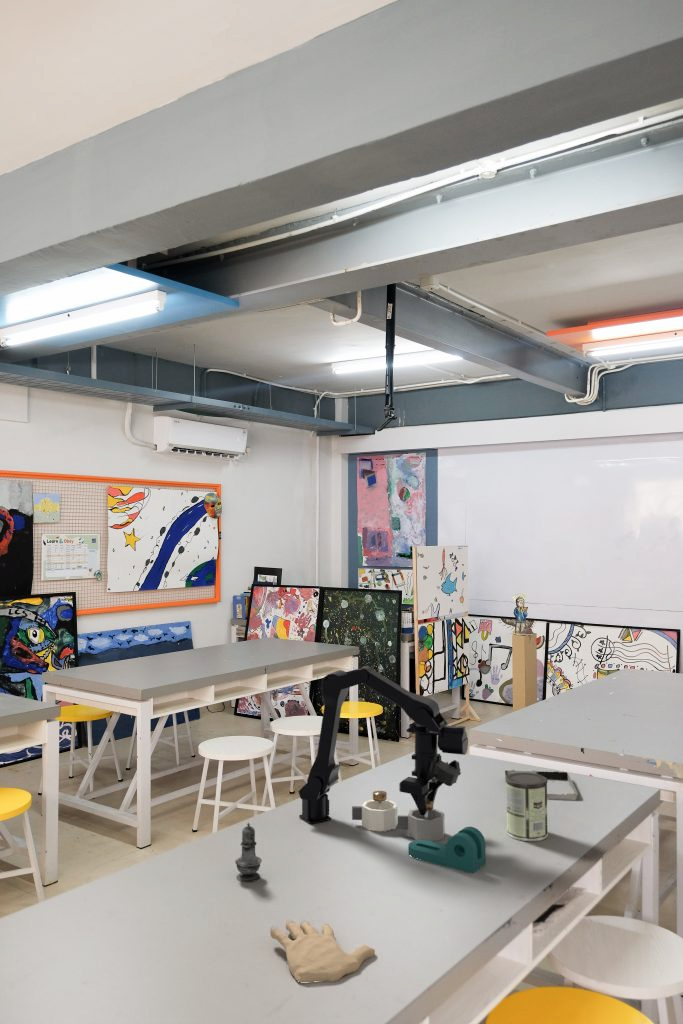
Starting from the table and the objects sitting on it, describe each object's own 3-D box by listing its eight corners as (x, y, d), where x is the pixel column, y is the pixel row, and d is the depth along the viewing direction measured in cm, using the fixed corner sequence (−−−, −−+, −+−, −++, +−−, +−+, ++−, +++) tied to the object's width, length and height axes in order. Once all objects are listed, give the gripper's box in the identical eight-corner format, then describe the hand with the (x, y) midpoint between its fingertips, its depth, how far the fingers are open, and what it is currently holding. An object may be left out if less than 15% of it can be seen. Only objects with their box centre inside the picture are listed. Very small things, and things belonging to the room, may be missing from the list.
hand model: (273, 973, 140) (269, 904, 159) (271, 999, 140) (268, 927, 160) (382, 971, 142) (366, 904, 162) (381, 996, 142) (364, 926, 162)
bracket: (485, 863, 191) (485, 829, 191) (473, 874, 185) (473, 838, 186) (416, 847, 201) (416, 814, 201) (403, 856, 195) (403, 823, 196)
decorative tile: (578, 805, 235) (571, 781, 254) (578, 794, 235) (571, 771, 254) (506, 801, 238) (504, 778, 258) (506, 791, 238) (504, 768, 258)
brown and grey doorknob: (376, 828, 212) (376, 797, 212) (364, 821, 216) (364, 791, 217) (394, 823, 215) (394, 793, 215) (382, 817, 219) (382, 788, 220)
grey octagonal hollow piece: (417, 845, 202) (417, 824, 202) (395, 834, 209) (395, 813, 209) (451, 837, 207) (450, 816, 207) (429, 826, 215) (428, 806, 215)
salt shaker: (240, 884, 180) (240, 829, 180) (231, 874, 185) (231, 820, 185) (265, 879, 182) (265, 824, 182) (255, 869, 187) (255, 816, 188)
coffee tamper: (424, 838, 205) (424, 806, 205) (410, 831, 209) (410, 800, 210) (441, 833, 208) (441, 802, 208) (428, 826, 212) (428, 796, 213)
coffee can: (519, 823, 216) (519, 769, 217) (555, 833, 209) (554, 777, 210) (498, 834, 209) (498, 778, 209) (534, 845, 202) (534, 787, 202)
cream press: (369, 835, 209) (369, 814, 209) (350, 824, 216) (350, 804, 216) (403, 826, 214) (403, 806, 214) (383, 816, 222) (383, 797, 222)
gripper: (439, 764, 197) (440, 830, 197) (469, 746, 213) (470, 807, 212) (398, 757, 203) (398, 821, 202) (430, 740, 219) (430, 800, 218)
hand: (426, 812), depth 209 cm, fingers closed on coffee tamper, 3 cm apart
